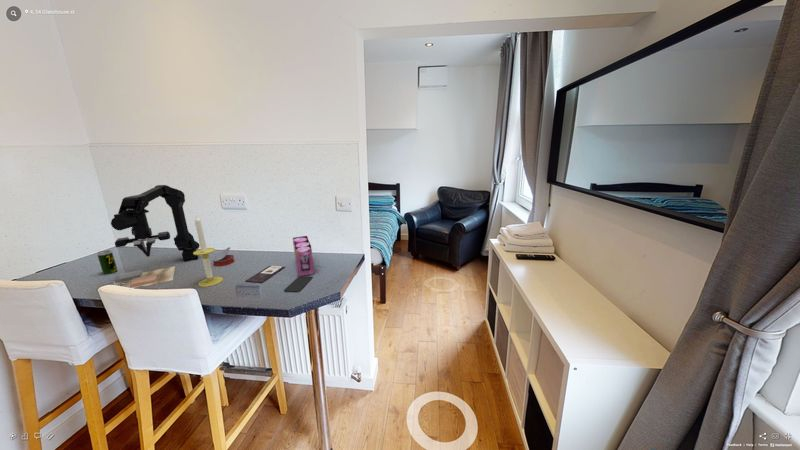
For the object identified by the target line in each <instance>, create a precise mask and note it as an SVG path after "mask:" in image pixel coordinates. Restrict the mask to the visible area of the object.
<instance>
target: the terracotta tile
mask: <svg viewBox="0 0 800 450" xmlns="http://www.w3.org/2000/svg"><path fill="white" fill-rule="evenodd" d="M157 280H158V274H153V275H148V276H143V277H138V278H133V280H132V282H131V284H130V286H131V288H134V289H136V288H135V287H138V288H140V287H139V286H143V287H145V286H144V285H148V284H152V285H154V284H153V283H157ZM157 284H158V283H157ZM148 286H149V285H148Z"/></svg>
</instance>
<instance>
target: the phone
mask: <svg viewBox="0 0 800 450" xmlns="http://www.w3.org/2000/svg"><path fill="white" fill-rule="evenodd" d="M312 279H314V277H313V276H309V275H305V276H298V277H296V278H295V279H294V280H293V281H292V282H291V283H289V284H288V286H287V287H285V289H284V290H283V291H284V293H299V292H301V291H302V290H304V288H305V287H306V286H307V285H309V283H310V282H311V281H312Z"/></svg>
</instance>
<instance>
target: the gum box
mask: <svg viewBox="0 0 800 450" xmlns="http://www.w3.org/2000/svg"><path fill="white" fill-rule="evenodd" d="M292 243H293V244H292V245H293V252H294V253H293V254H294V260H295V265H296V272H297V276H298V277H299V276H309V275H314V274H315V266H314V259H313V248H312V244H311V243H310V240H309V238H308V235H301V236H295V237H292Z"/></svg>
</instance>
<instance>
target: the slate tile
mask: <svg viewBox="0 0 800 450" xmlns="http://www.w3.org/2000/svg"><path fill="white" fill-rule="evenodd" d="M143 272H144V271H143V269H139V270H135V271H129V272H124V273H123V272H122V273H120V274H119V273H118V274H117V276H116V277H115V278H114V282H115V284H117V283H121V282H126V281H131V280H133V278H138V277H142V275H143Z"/></svg>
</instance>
